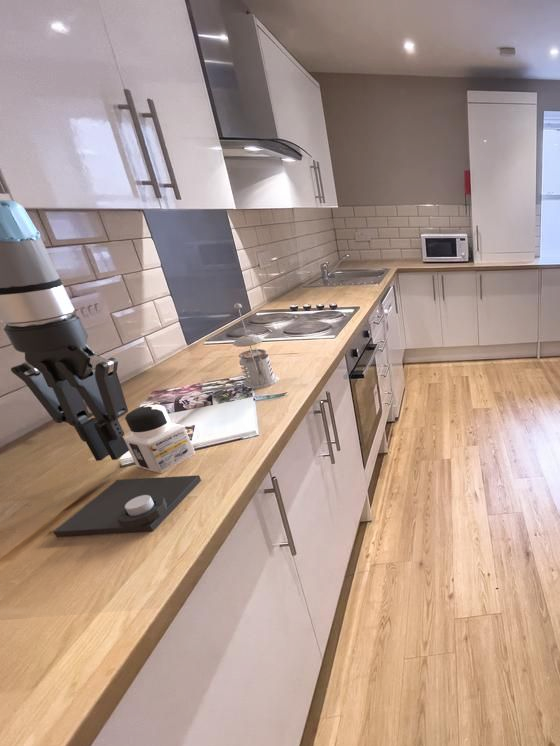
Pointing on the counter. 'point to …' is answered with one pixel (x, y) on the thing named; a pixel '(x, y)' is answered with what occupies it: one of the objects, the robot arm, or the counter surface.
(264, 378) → the french press
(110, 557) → the counter surface
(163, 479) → the scale
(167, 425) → the container
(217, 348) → the counter surface
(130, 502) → the button
